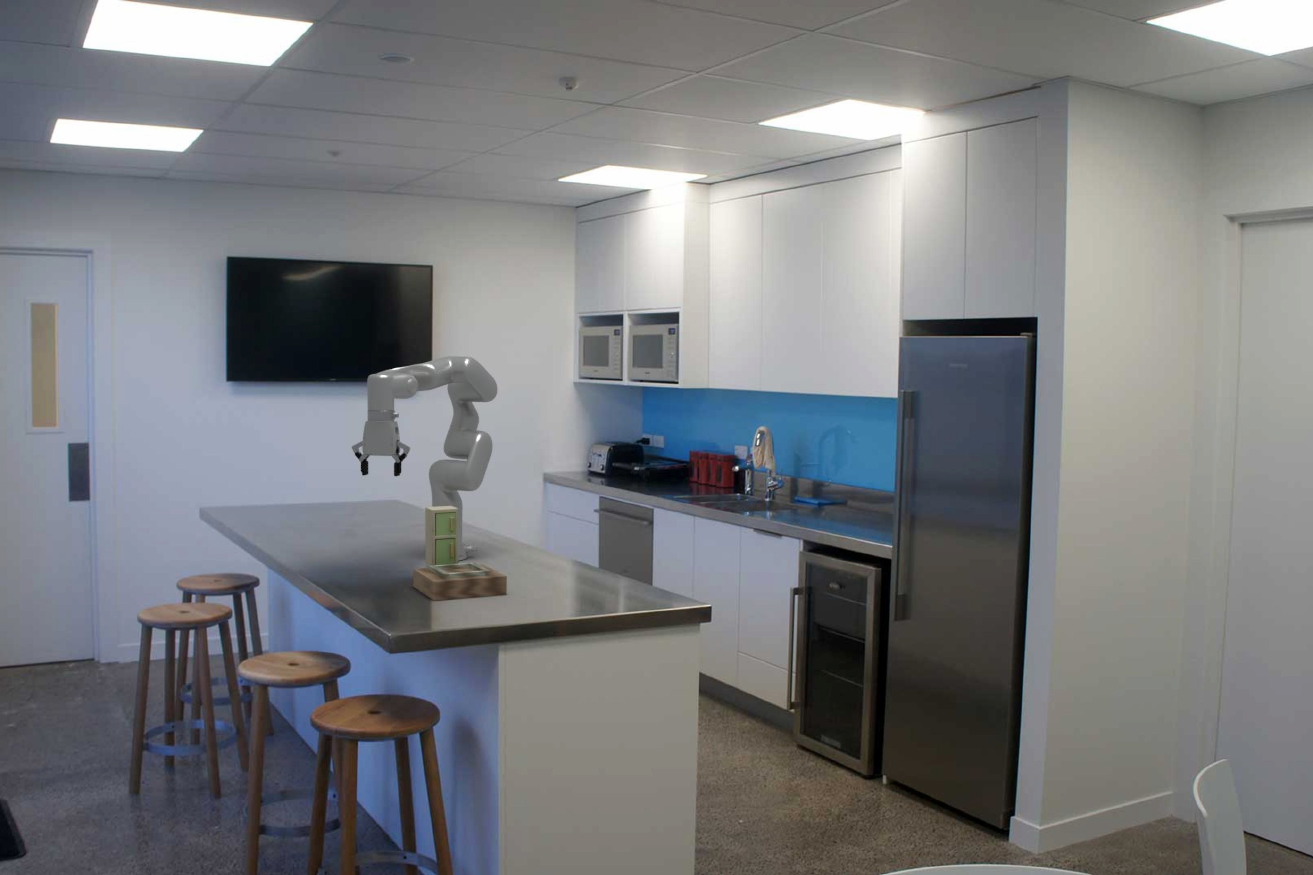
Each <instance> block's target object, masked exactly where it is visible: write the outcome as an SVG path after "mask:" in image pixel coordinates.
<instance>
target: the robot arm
mask: <svg viewBox="0 0 1313 875" xmlns="http://www.w3.org/2000/svg"><path fill="white" fill-rule="evenodd" d="M366 385H367V386H366V387H367V389H366V390H367V420H365V423H364V428H363V431H362V432H363V434H362V440H361V441H360V442H357V443H355V444H353V445H352V446H351V449H352V451H353V453H354V456H355V457H356V458H357V459H358V461H359V462H360V472H361V475H362V476H367V475H369V461H368V459H369V458H370V456H376V457H377V456H379V457H380V456H382V457H392V458H393V460H394V463H393V476H394V477H398V476H401V474H402V462H403V461H404V460H405V459H406V458H407V456H408V454H409V453H410V451H411V447H410V446H408V445H407V444H405V443H403V442H401V438H400V431H399V430H400V429H399V424H398V421H395V420H396V418H397V419H398V418H400V417H399V415H400V414H399V412H396V411H395V399H396V400H397V399H399V400H402V399H403V400H406V399H407V400H408V399H410V398H413V397H414V396H415V395H416V394H417V392H426V391H432V390H435V389H437V388H440V387H443V386H446V385H447V394H448V396H449V399H450V402H451V405H452V411H453V415H452V419H451V422H450V425H449V429H448V431H447V433H446V437H445V439H444V443H443V453H444V454H445V456H446V457H448V458H451V459H439V460H436V461H434V462H433V463H432V464H431V465H430V467H429V470H428V479H429V480H428V481H429V485H430V489H431V490H430V491H431V492H430V493H431V503H432V504H431V507H438V506H453V507H456V508H458V562H459V561H463V560H466V559H467V558H468V552H470V553H471V552H477V550H478V546H477V545H466V544H464V543H463V511H464V510H463V500H462V498H461V495H460V493H459V491H462V492H474V491H476V490H478V489H479V488H480V487H481V485H482V483H483V481H484V478H485V475H486V473H487V472H486V471H487V469H488V466H489V463H490V459H491V456H492V453H493V440H492V437H491V435H490V434H489V433H488V432H486V431H483V430H478V427H479V423H480V417H479V414H478V411H477V409H476V408H475V405H474V404H473V403H490V402H492V401H493V400H494V399H496V396H497V394H498V390H499V389H498V384H497V382H496V380H495V378H494V377H493V376H492V374H491V373H490V372H489V371H488V370H487V369H486V368H485V367H484V366H483V365H482V364H481V363H480V362H479V361H478V360H476V359H475V358H474V357H471V356H460V355H459V356H456V355H455V356H451V355H450V356H449V355H448V356H443V357H439V358H437V359H433V360H429V361H427V362H426V361H425V362H423V363H415V364H411V365H407V366H402V367H401V366H400V367H395V368H392V369H391V368H390V369H386V370H383V371H380V372H377V373H373V374H370V375H368V377H367V384H366ZM360 448H362V452H360ZM401 449H402V450H403V451H402V453H401ZM400 453H401V454H400Z"/></svg>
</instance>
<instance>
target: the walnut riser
mask: <svg viewBox="0 0 1313 875" xmlns="http://www.w3.org/2000/svg"><path fill="white" fill-rule="evenodd" d="M412 571H413V577H412V578H413V582H412V583H413V586H412V587H413V588H414V589H416V590H417V591H419V592H420V593H421V594H423V595H425V596H426V597H427V598H430V599H431V600H432V601H434V602H435V601H447V600H458V599H459V600H460V599H470V598H483V597H494V596H507V594H508V593H507V591H508V590H507V588H508V586H507V583H508V582H507V580H508V577H507V575H505V574H503V573H501V572H499V571H497V570H495V569H493V568H492V567H490V566H487V565H485V564H483V563H480V564H478V563H475V562H465V563H464V562H463V563H458V564H446V565H432V566H429V568H426V567H424V568H413V570H412Z"/></svg>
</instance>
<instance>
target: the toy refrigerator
mask: <svg viewBox="0 0 1313 875" xmlns="http://www.w3.org/2000/svg"><path fill="white" fill-rule="evenodd" d="M424 511H425V512H424V514H425V515H424V516H425V517H424V518H425V521H424V522H425V524H424V525H425V526H424V527H425V528H424V529H425V568H429V566H432V565H446V564H459V561H458V508H456V507H453V506H438V507H432V506H426V507H425V509H424Z"/></svg>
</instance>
